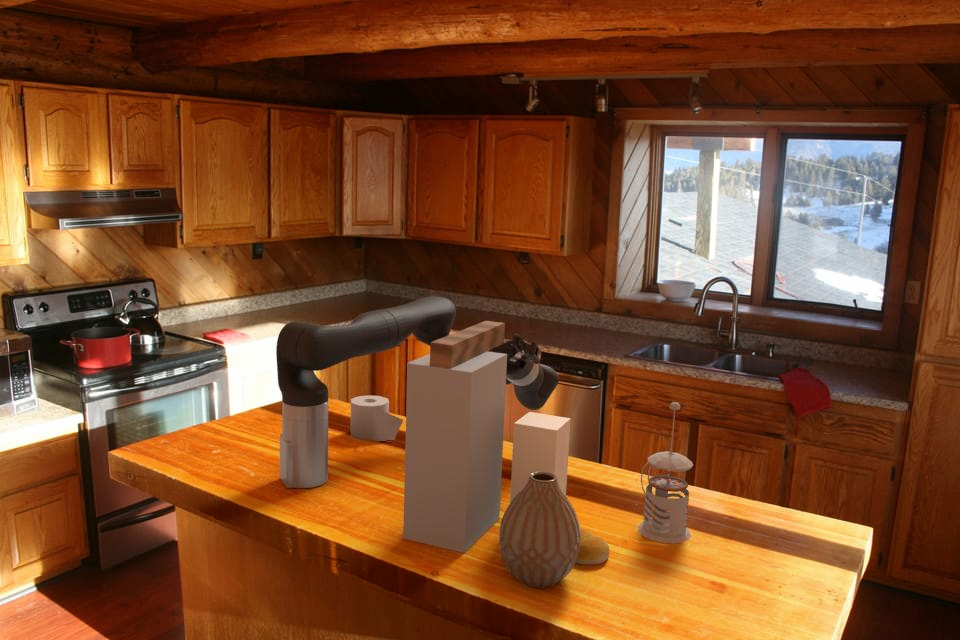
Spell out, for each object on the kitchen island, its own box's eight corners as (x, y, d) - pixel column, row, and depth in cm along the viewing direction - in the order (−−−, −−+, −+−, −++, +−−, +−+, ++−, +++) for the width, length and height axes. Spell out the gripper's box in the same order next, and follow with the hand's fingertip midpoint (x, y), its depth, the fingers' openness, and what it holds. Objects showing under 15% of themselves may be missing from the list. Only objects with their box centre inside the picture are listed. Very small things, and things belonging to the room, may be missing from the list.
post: (550, 543, 145) (557, 430, 141) (508, 534, 148) (513, 423, 144) (563, 526, 152) (570, 418, 148) (523, 517, 155) (529, 411, 151)
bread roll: (587, 571, 136) (589, 549, 135) (549, 551, 142) (550, 530, 141) (620, 558, 141) (621, 536, 140) (581, 539, 147) (583, 518, 147)
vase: (555, 607, 123) (561, 499, 120) (481, 582, 130) (486, 478, 127) (591, 573, 134) (598, 473, 131) (521, 551, 141) (526, 455, 138)
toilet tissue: (399, 443, 194) (400, 408, 193) (345, 438, 196) (345, 404, 194) (407, 431, 203) (408, 398, 202) (355, 427, 204) (355, 394, 203)
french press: (660, 547, 145) (672, 412, 140) (620, 521, 155) (630, 395, 151) (702, 537, 150) (715, 407, 145) (661, 513, 160) (671, 390, 155)
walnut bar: (451, 368, 136) (451, 345, 135) (429, 365, 137) (430, 342, 137) (504, 343, 158) (505, 322, 157) (485, 340, 159) (485, 320, 158)
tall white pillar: (464, 553, 140) (471, 372, 134) (403, 538, 144) (407, 363, 139) (499, 518, 154) (507, 354, 148) (442, 506, 159) (447, 346, 153)
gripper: (545, 385, 167) (524, 359, 152) (481, 375, 172) (455, 350, 158) (553, 350, 169) (532, 322, 155) (490, 342, 174) (464, 314, 160)
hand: (493, 336), depth 156 cm, fingers open, 8 cm apart
